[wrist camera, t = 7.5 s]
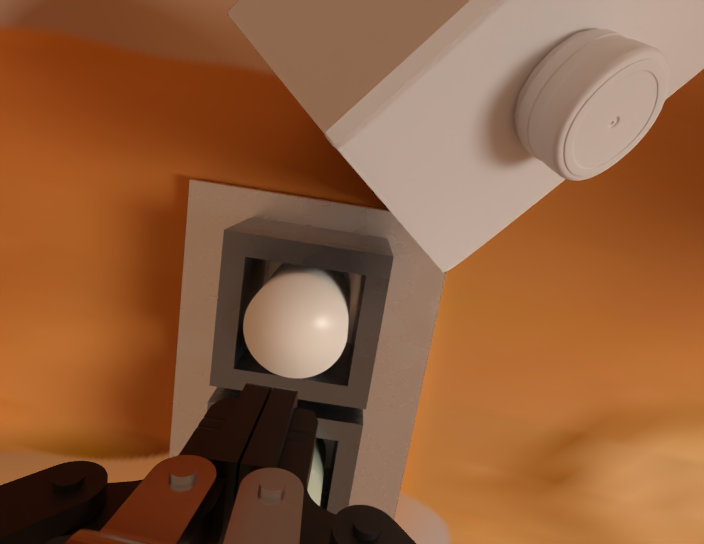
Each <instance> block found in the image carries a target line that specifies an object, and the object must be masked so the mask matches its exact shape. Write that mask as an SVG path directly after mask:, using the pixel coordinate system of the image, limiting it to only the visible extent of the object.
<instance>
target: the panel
mask: <svg viewBox="0 0 704 544" xmlns="http://www.w3.org/2000/svg"><path fill="white" fill-rule="evenodd" d="M284 263H289V264H296V265H302V266H308V267H315V268H321V269H327V270H334V271H340V272H342V273H343V275H344V276H345V278H346V280H347V282H348V285H349V288H350V295H351V300H350V312H349V324H348V335H347V341H346V345H345V348H344V350H343V352H342V354H341V356H340V357H339V358H338V360H337V361H336V362H335V363H334V364H333V365H332V366H331V367H330V368H328V369H327V370H325V371H324V372H322V373H320V374H318V375H315V376H312V377H307V378H287V377H283V376H280V375H277V374H274V373H272V372H270V371H269V370H267V369H266V368H264V367H263V366H262V365H261V364H259V363H258V362H257V360H256V359H255V358H254V357H253V356H252V354H251V353H250V351H249V349H248V347H247V344H246V342H245V338H244V332H243V322H244V316H245V313H246V310H247V308H248V306H249V304H250V302H251V301H252V299H253V298H254V297H255V295H256V294H257V293H258V292H259V291H260V289H261V288H262V287H263V286H264V284H265V283H266V282H267V281H268V280H269V278H270V277H271V276H272V275H273V274H274V272H275V271H276V270H277V269H278V268H279V267H280V266H281V265H282V264H284ZM445 274H446V272H444V273H443V272H442V271H441V270H440V268H439V267H438V266H437V265H436V264H435V263H434V261H433V260H432V259H431V258H430V257H429V256H428V254H427V253H426V252H425V251H424V250H423V249H422V247H421V246H420V245H419V244H418V243H417V242H416V241H415V239H414V238H413V237H412V236H411V235H410V234H409V232H408V231H407V230H406V229H405V228H404V227H403V225H402V224H401V223H400V222H399V221H398V220H397V218H396V217H395V216H394V215H393V214H392V213H391V212H390V210H387V209H380V208H374V207H368V206H362V205H355V204H349V203H343V202H337V201H330V200H324V199H318V198H312V197H305V196H299V195H293V194H287V193H280V192H274V191H268V190H261V189H255V188H249V187H243V186H236V185H230V184H224V183H218V182H211V181H205V180H199V179H191V180H190V181H189V195H188V208H187V222H186V235H185V249H184V262H183V276H182V289H181V303H180V316H179V330H178V343H177V357H176V370H175V384H174V397H173V411H172V424H171V438H170V451H169V458H171V457H174V456H178V455H179V454H180V452H181V451H182V449H183V448H184V446H185V444H186V443H187V441H188V440H189V438H190V437H191V435H192V434H193V432H194V431H195V429H196V428H198V425H199V423H200V422H201V420H202V419H203V418H204V416H205V414H206V413H207V411H208V409H209V408H210V406H211V405H213V404H214V403H216V402H218V401H219V400H221V399H222V398H224V397H226V398H233V399H238V397H239V395H240V393H241V392H242V390H243V388H244V386H245V384H246V383H251V384H258V385H264V386H271V387H272V389H273V387H278V388H284V389H291V390H297V391H298V401H297V408H299V409H305V410H312V411H313V412H314V414H315V416H316V418H317V420H318V428H317V434H316V438H322V439H323V441H324V443H325V447H326V461H325V469H324V477H323V485H322V493H321V501H320V507H322V508H323V509H325V510H327V511H329V512H331V513H334V514H337V513H338V512H339V511H340V510H342V509H343V508H345V507H348V506H351V505H368V506H372V507H375V508H378V509H380V510H382V511H384V512H385V513H386V514H388V515H389V516H390V517H391V518H392V519H393V520H394V517H395V512H396V508H397V503H398V498H399V493H400V489H401V484H402V479H403V474H404V469H405V465H406V460H407V455H408V450H409V446H410V441H411V436H412V431H413V426H414V422H415V417H416V412H417V407H418V403H419V398H420V393H421V388H422V384H423V379H424V374H425V369H426V364H427V360H428V355H429V350H430V345H431V341H432V336H433V331H434V326H435V321H436V317H437V312H438V307H439V302H440V298H441V293H442V288H443V283H444V278H445Z"/></svg>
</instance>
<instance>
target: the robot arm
mask: <svg viewBox="0 0 704 544" xmlns="http://www.w3.org/2000/svg"><path fill="white" fill-rule="evenodd" d="M297 401H298V391H297V390H291V389H284V388H278V387H273V389H272V387H271V386H264V385H258V384H251V383H246V384H245V386H244V388H243V390H242V392H241V393H240V395H239V397H238V399H233V398H226V397H224V398H222V399H221V400H219V401H218V402H216V403H214V404H213V405H211V406H210V408H209V409H208V411H207V413H206V414H205V416H204V418H203V419H202V420H201V422H200V423H199V425H198V428H196V429H195V431H194V432H193V434H192V435H191V437H190V438H189V440H188V441H187V443H186V444H185V446H184V448H183V449H182V451H181V452H180V454H179V455H178V456H174V457H171V458H168V459H166V460H164V461H162V462H160V463H159V464H157V465H156V466H155V467H154V468H153V469H152V470H151V471H150V472H149V474H148V475H147V476H146V477H145V478H144V479H143V480H139V481H131V482H117V483H107V479H108V478H107V476H108V475H107V472H106V470H105V469H104V468H103V467H102V466H100V465H99V464H96V463H93V462H88V461H73V462H67V463H63V464H59V465H56V466H53V467H50V468H48V469H45V470H42V471H39V472H37V473H34V474H31V475H28V476H25V477H23V478H20V479H17V480H14V481H12V482H9V483H6V484H3V485H1V486H0V544H416V543H415V542H414V541H413V540H412V539H411V538H410V537H409V536H408V535H407V533H406V532H404V530H403V529H402V528H401V527H400V526H399V525H398V524H397V523H396V522H395V521H394V520H393V519H392V518H391V517H390V516H389V515H388V514H386V513H385V512H384V511H382V510H380V509H378V508H375V507H372V506H368V505H351V506H348V507H345V508H343V509H342V510H340V511H339V512H338V513H337V514H334V513H331V512H329V511H327V510H325V509H323V508H322V507H320V506H319V505H317V504H316V503H315V502H314V501H313V500H312V498H311V497H310V495H309V493H308V484H309V479H310V473H311V468H312V461H313V454H314V448H315V441H316V434H317V428H318V420H317V418H316V416H315V414H314V412H313V411H312V410H305V409H299V408H297Z"/></svg>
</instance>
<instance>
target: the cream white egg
mask: <svg viewBox="0 0 704 544" xmlns="http://www.w3.org/2000/svg"><path fill="white" fill-rule="evenodd" d="M350 300H351V295H350V288H349V285H348V282H347V280H346V278H345V276H344V275H343V273H342V272H340V271H334V270H327V269H321V268H315V267H308V266H302V265H296V264H289V263H284V264H282V265H281V266H280V267H279V268H278V269H277V270H276V271H275V272H274V274H273V275H272V276H271V277H270V278H269V280H268V281H267V282H266V283H265V284H264V286H263V287H262V288H261V289H260V291H259V292H258V293H257V294H256V295H255V297H254V298H253V299H252V301H251V302H250V304H249V306H248V308H247V310H246V313H245V316H244V322H243V332H244V338H245V342H246V344H247V347H248V349H249V351H250V353H251V354H252V356H253V357H254V358H255V359H256V360H257V362H258V363H259V364H261V365H262V366H263V367H264V368H266V369H267V370H269V371H270V372H272V373H274V374H277V375H280V376H283V377H287V378H307V377H312V376H315V375H318V374H320V373H322V372H324V371H325V370H327V369H328V368H330V367H331V366H332V365H333V364H334V363H335V362H336V361H337V360H338V358H339V357H340V356H341V354H342V352H343V350H344V348H345V345H346V341H347V335H348V324H349V312H350Z"/></svg>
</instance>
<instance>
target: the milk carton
mask: <svg viewBox="0 0 704 544" xmlns="http://www.w3.org/2000/svg"><path fill="white" fill-rule="evenodd" d="M227 14H228V16H229V17H230V18H231V20H232V21H233V22H234V23H235V25H237V27H238V28H239V29H240V31H241V32H242V33H243V34H244V36H245V37H246V38H247V39H248V41H249V42H250V43H251V44H252V46H253V47H254V48H255V49H256V50H257V52H258V53H259V54H260V55H261V57H262V58H263V59H264V60H265V62H266V63H267V64H268V65H269V66H270V68H271V69H272V70H273V71H274V73H275V74H276V75H277V76H278V78H279V79H280V80H281V81H282V83H283V84H284V85H285V86H286V87H287V89H288V90H289V91H290V92H291V94H292V95H293V96H294V97H295V99H296V100H297V101H298V102H299V103H300V105H301V106H302V107H303V108H304V110H305V111H306V112H307V113H308V115H309V116H310V117H311V118H312V119H313V121H314V122H315V123H316V124H317V126H318V127H319V128H320V129H321V131H322V132H323V133H324V134H325V138H326V139H327V140H328V141H329V142H330V144H331V145H332V146H333V147H335V148H336V149H337V150H338V151H339V152H340V153H341V155H342V156H343V157H344V158H345V159H346V160H347V162H348V163H349V164H350V165H351V166H352V167H353V169H354V170H355V171H356V172H357V173H358V174H359V176H360V177H361V178H362V179H363V180H364V181H365V182H366V184H367V185H368V186H369V187H370V188H371V189H372V191H373V192H374V193H375V194H376V195H377V196H378V198H379V199H380V200H381V201H382V202H383V203H384V205H385V206H386V207H387V208H388V209H389V210H390V212H391V213H392V214H393V215H394V216H395V217H396V218H397V220H398V221H399V222H400V223H401V224H402V225H403V227H404V228H405V229H406V230H407V231H408V232H409V234H410V235H411V236H412V237H413V238H414V239H415V241H416V242H417V243H418V244H419V245H420V246H421V247H422V249H423V250H424V251H425V252H426V253H427V254H428V256H429V257H430V258H431V259H432V260H433V261H434V263H435V264H436V265H437V266H438V267H439V268H440V270H441V271H442V272H443V273H444V272H446V271H448V270H450V269H452V268H453V267H455V266H456V265H457V264H459V263H460V262H462V261H463V260H464V259H466V258H467V257H468V256H470V255H471V254H472V253H473V252H475V251H476V250H477V249H479V248H480V247H481V246H482V245H484V244H485V243H486V242H488V241H489V240H490V239H491V238H493V237H494V236H495V235H496V234H498V233H499V232H500V231H502V230H503V229H504V228H505V227H507V226H508V225H509V224H510V223H512V222H513V221H514V220H515V219H517V218H518V217H519V216H520V215H522V214H523V213H524V212H525V211H527V210H528V209H529V208H530V207H532V206H533V205H534V204H535V203H537V202H538V201H539V200H540V199H542V198H543V197H544V196H545V195H547V194H548V193H549V192H550V191H552V190H553V189H554V188H555V187H557V186H558V185H559V184H560V183H562V182H563V181H564V180H565V179H567V180H571V181H581V180H586V179H589V178H591V177H594V176H596V175H598V174H600V173H602V172H603V171H605V170H607V169H608V168H610V167H611V166H613V165H614V164H615V163H617V162H618V161H619V160H621V159H622V158H623V157H624V156H625V155H626V154H628V153H629V152H630V151H631V150H632V149H633V148H634V147H635V146H636V145H637V144H638V143H639V142H640V140H641V139H642V138H643V137H644V136H645V135H646V133H647V132H648V131H649V129H650V128H651V126H652V125H653V124H654V122H655V121H656V119H657V117H658V115H659V113H660V111H661V109H662V107H663V104H664V102H665V100H666V99H667V98H668V97H670V96H671V95H672V94H673V93H675V92H676V91H677V90H678V89H680V88H681V87H682V86H683V85H684V84H686V83H687V82H688V81H689V80H691V79H692V78H693V77H694V76H695V75H697V74H698V73H699V72H700V71H701V70H703V69H704V0H238V1H237V2H236V3H235V4H234V5H233V6H232V8H231V9H230V10H229V11H228V13H227Z"/></svg>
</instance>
